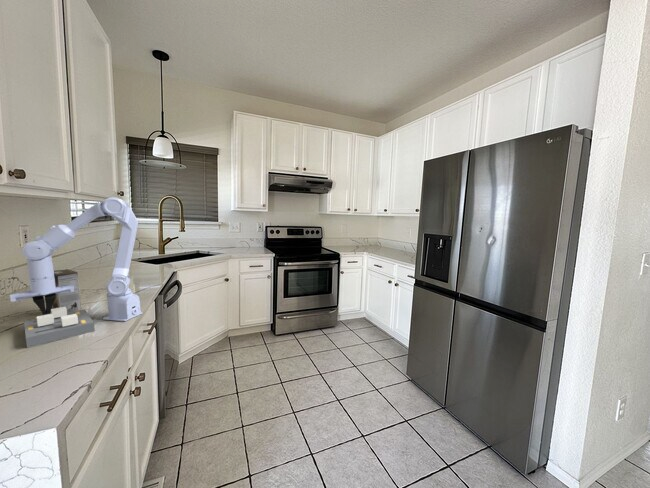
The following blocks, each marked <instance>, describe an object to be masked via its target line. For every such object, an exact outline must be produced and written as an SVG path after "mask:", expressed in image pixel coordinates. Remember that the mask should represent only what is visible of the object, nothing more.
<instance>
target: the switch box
mask: <svg viewBox="0 0 650 488" xmlns="http://www.w3.org/2000/svg"><path fill="white" fill-rule="evenodd" d="M71 314H77V316H78V323H77V324H73V325H69V326H64V327H63V326H62V324H61V317H57V318H54V323H53V324H48V325H44V326H39V327H38V324H37V318H35V319H29V320H26V321H23V322H24V323H23V324H24V325H23V327H24V333H25V343H26V348H27V349H28V348H32V347H37V346H40V345H45V344H48V343H52V342H56V341H61V340H64V339H69V338H72V337H75V336H76V337H77V336H81V335H84V334H88V333H91V332H95V331H96V329H95V322H94V320H93V319H92V318H91V316H90V315H89V313H88V312H87V310H86V309H81V310H79V311H74V312H69V313H67V315H71Z"/></svg>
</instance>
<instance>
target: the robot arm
mask: <svg viewBox="0 0 650 488" xmlns="http://www.w3.org/2000/svg"><path fill="white" fill-rule="evenodd" d="M106 216H107V217H108V216H110V217H112V218H114V219H115V220H116V221H117V222H118V223H119V224H120V225H121V230H120V234H119V235H120V236H119V241H118V246H117V251H116V256H115V257H116V258H115V262H114V266H113V271H112V273H111V277H110V279H109V281H108V282H107V284H106V285H105V290H106V292H107V294H106V296H107V297H106V298H107V308H108V309H107V310H108V315H107V316H104V317H102V321H103V320H104V321H106V320H107V321H118V322H127V321H129V320H131V319H134V318H135V317H138V316H140V315H142V314H143V311H142V310H141V300H140V296H139V295H138V294H135V293H133V292H132V289H130V287H129V285H130V284H131V278H130V275H129V274H130V267H131V262H132V258H133V252H134V247H135V241H136V237H137V232H138V228H139V227H138V226H139V220H138V219H137V217H136V215H135V213H134V211H133V210H132V207H131V206H130V205H129V203H127V202H126V201H125V200H124V199H121V198H119V197H115V196H114V197H108V198H106V199H104V200H103V201H100V202H98V203H96V204H94V205H93V206H91V207H89V208H87V209H86V210H85V211H84V212H82V213H80V215H78V216H76V217H75V218H74V219H73V220H71V221H70V222H68V223H66V224H57V225H52V226H50V227H49V229H50V230H48V231H46V232H45V233H44V234H42V235H40V236H39V235H38V236H36V237H35V238H34V239H35V240H36V241H35V240H34V241H30V242H27V243H26V244H25V245H24V247H22V255H23V256H24V257H25V258H26V261H27V263H26V264H27V273H28V280H29V288H30V290H28V291H24V292H18V293H13V294H9V300H10V303H13V302H17V301H22V300H28V299H32V301H33V302H34V304H35V305H36V306H37V307H38V308H39V310H40V312H41V313H42V315H47V314H51V308H52V305H53V303H54V301H55V299H56V294H60V293H66V292H74V286H73V285H72V286H63V287H56V286H55V277H54V271H55V270H54V262H53V258H52V257H53V256H52V255H53V254H54V252H55V251H56V250H58V249H61V248H62V247H63V246H65V245H66V244H67V243H68V242H71V240H73V239H75V238H76V232H77V231H79V230H80V229H81V228H83V227H84V226H86V225H88V224H89V223H91V222H92V221H94V220H96V219H98V218H100V217H106Z"/></svg>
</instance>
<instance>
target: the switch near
mask: <svg viewBox="0 0 650 488" xmlns="http://www.w3.org/2000/svg"><path fill="white" fill-rule="evenodd" d="M77 323H78V316H77V314H71V315H66V316H62V317H61V324H62V326H63V327H64V326H69V325H73V324H77Z"/></svg>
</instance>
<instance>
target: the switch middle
mask: <svg viewBox="0 0 650 488" xmlns="http://www.w3.org/2000/svg"><path fill="white" fill-rule="evenodd" d="M36 319H37V324H38V327H39V326H44V325H48V324H53V323H54V316H53V313H52V314H51V313H50V314H47V315H43V314H42V315H38V316H36Z"/></svg>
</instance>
